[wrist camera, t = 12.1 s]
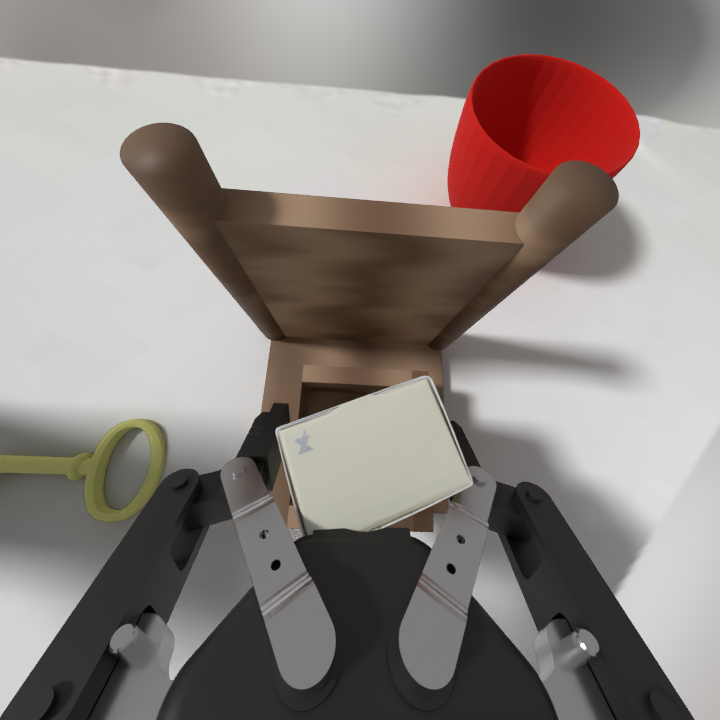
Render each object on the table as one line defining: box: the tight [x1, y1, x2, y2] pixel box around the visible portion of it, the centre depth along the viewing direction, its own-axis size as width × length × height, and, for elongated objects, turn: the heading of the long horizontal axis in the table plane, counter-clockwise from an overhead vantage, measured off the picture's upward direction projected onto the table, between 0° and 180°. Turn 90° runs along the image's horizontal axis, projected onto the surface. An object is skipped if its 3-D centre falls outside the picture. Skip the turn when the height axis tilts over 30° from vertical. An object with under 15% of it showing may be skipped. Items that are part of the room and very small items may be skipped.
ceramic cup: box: [448, 54, 640, 213], centre depth 24 cm, size 13×17×10 cm
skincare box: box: [275, 376, 473, 536], centre depth 15 cm, size 6×4×12 cm
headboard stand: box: [120, 123, 619, 532], centre depth 15 cm, size 17×15×16 cm
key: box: [0, 419, 166, 522], centre depth 19 cm, size 7×12×2 cm, turn 105°
